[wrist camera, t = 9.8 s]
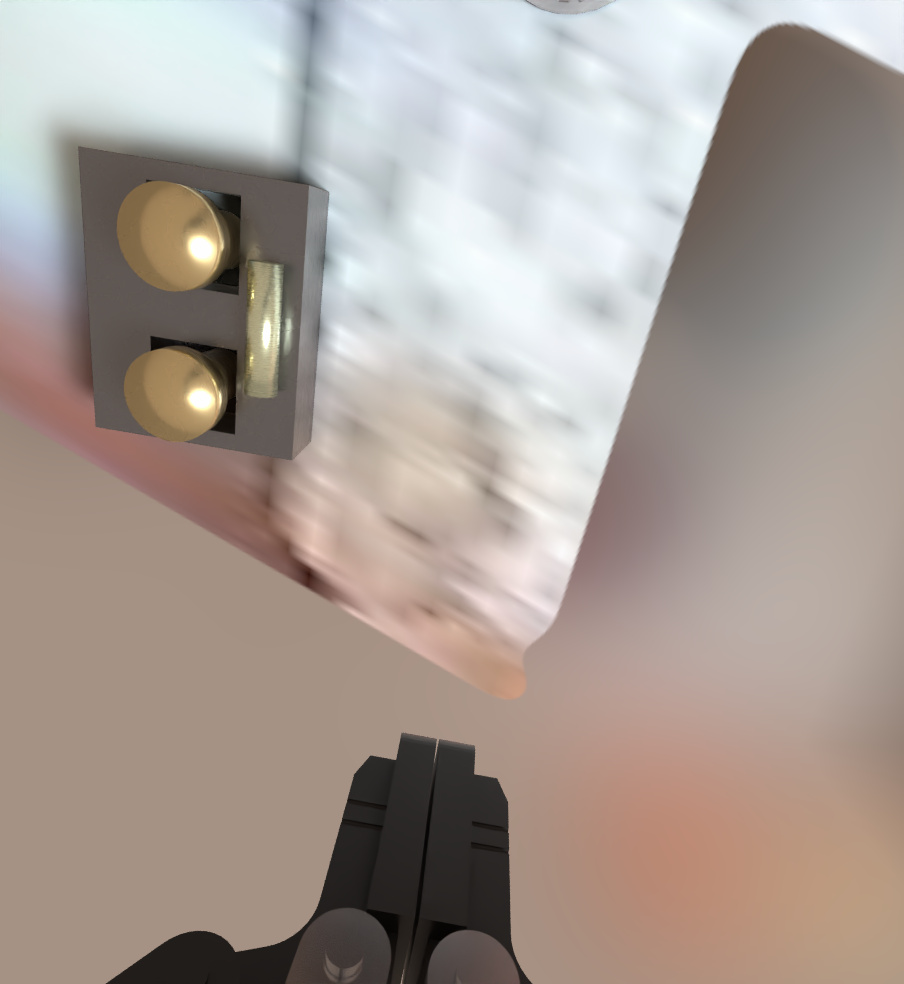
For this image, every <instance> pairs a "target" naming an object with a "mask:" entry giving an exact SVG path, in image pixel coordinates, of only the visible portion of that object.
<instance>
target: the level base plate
mask: <svg viewBox="0 0 904 984" xmlns="http://www.w3.org/2000/svg"><path fill="white" fill-rule="evenodd" d="M78 149H79V165H80V181H81V197H82V213H83V230H84V246H85V262H86V278H87V294H88V310H89V326H90V342H91V358H92V374H93V390H94V406H95V422H96V427H100V428H106V429H112V430H117V431H123V432H129V433H135V434H141V435H147V436H153V437H156V436H154V435H152V434H151V433H149V432H148V431H146V430H145V429H144V428H143V427H142V426H141V425H140V424H139V423H138V422H137V421H136V420H135V418H134V417H133V415H132V414H131V412H130V410H129V408H128V406H127V403H126V400H125V395H124V380H125V376H126V373H127V371H128V368H129V367H130V365H131V364H132V363H133V362H134V360H135V359H137V358H138V357H139V356H141V355H143V354H144V353H147V352H150V351H153V350H157V349H160V348H164V347H168V346H184V341H185V342H191V343H196V344H202V345H208V346H214V347H220V348H226V349H232V350H237V381H236V414H234V413H228V412H225V413H224V415H223V417H222V418H221V420H220V421H219V422H218V423H217V424H216V425H215V426H214V427H213V428H211V429H210V430H208V431H206V432H205V433H203V434H201V435H200V436H198V437H196V438H194V439H192V440H189V441H184V442H188V443H194V444H199V445H205V446H211V447H217V448H223V449H229V450H235V451H241V452H246V453H252V454H258V455H264V456H270V457H276V458H282V459H287V460H293V459H294V458H295V457H296V456H297V455H298V454H299V453H300V452H301V451H302V450H303V449H304V448H305V447H306V446H307V445H308V444H309V443H310V442H311V433H312V419H313V406H314V392H315V378H316V365H317V351H318V337H319V324H320V310H321V296H322V283H323V269H324V255H325V242H326V228H327V214H328V201H329V192H327V191H324V190H321V189H319V188H316V187H313V186H310V185H305V184H299V183H293V182H287V181H281V180H275V179H269V178H263V177H257V176H251V175H245V174H239V173H233V172H228V171H222V170H216V169H210V168H204V167H198V166H192V165H186V164H180V163H174V162H168V161H162V160H156V159H150V158H144V157H138V156H132V155H126V154H120V153H114V152H108V151H102V150H96V149H90V148H84V147H78ZM151 181H166V182H171V183H175V184H180V185H185V186H189V187H191V188H194V189H198V190H204V191H210V192H216V193H222V194H228V195H234V196H240V197H241V223H240V262H239V287H237V286H231V285H225V284H219V283H212V284H210V285H208V286H206V287H203V288H200V289H195V290H187V291H176V292H173V291H166V290H162V289H159V288H156V287H154V286H152V285H150V284H148V283H147V282H146V281H144V280H143V279H142V278H140V277H139V276H138V275H137V274H136V273H135V272H134V271H133V270H132V268H131V267H130V266H129V264H128V263H127V261H126V259H125V258H124V255H123V253H122V251H121V248H120V245H119V242H118V237H117V217H118V213H119V209H120V207H121V205H122V202H123V201H124V199H125V198H126V196H127V195H128V194H129V193H130V192H131V191H132V190H133V189H135V188H136V187H138V186H139V185H141V184H144V183H147V182H151Z"/></svg>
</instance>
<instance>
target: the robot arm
mask: <svg viewBox="0 0 904 984" xmlns="http://www.w3.org/2000/svg"><path fill="white" fill-rule="evenodd" d="M527 1H528V2H530V3H532V4H533V5H535V6H537V7H538V8H541V9H544V10H547V11H551V12H554V13H557V14H580V13H584V12H589V11H594V10H597V9H599V8H601V7H603V6H605V5H607V4H609V3H612V2H614V1H615V0H527ZM436 741H437V739H434V738H429V737H424V736H418V735H413V734H407V733H402V734H401V739H400V744H399V749H398V754H397V759H396V760H391V759H387V758H381V757H376V756H370V757H369V758H368V759H367V760H366V762H365V763H364V764H363V765H362V766H361V767H360V768H359V770H358V771H357V772H356V773H355V774H354V777H353V781H352V785H351V789H350V792H349V796H348V800H347V804H346V807H345V810H344V814H343V818H342V822H341V825H340V829H339V832H338V836H337V839H336V843H335V847H334V850H333V854H332V858H331V861H330V865H329V869H328V872H327V876H326V880H325V883H324V887H323V891H322V894H321V898H320V901H319V904H318V907H317V909H316V911H315V913H314V914H313V916H312V917H311V919H310V920H309V922H308V923H307V924H306V925H305V926H304V927H303V928H302V929H301V930H300V931H299V932H297V933H296V934H295V935H293V936H292V937H290V938H288V939H287V940H285V941H282V942H280V943H278V944H275V945H271V946H267V947H262V948H257V949H251V950H245V951H239V952H235V951H234V949H233V947H232V946H231V945H230V944H229V943H228V941H226V940H225V939H224V938H222V937H221V936H219V935H217V934H215V933H211V932H207V931H193V932H187V933H184V934H180V935H178V936H176V937H173V938H171V939H169V940H168V941H166V942H164V943H163V944H161V945H160V946H159V947H157V948H156V949H154V950H153V951H151V952H150V953H149V954H147V955H146V956H144V957H143V958H142V959H140V960H139V961H137V962H136V963H134V964H133V965H132V966H130V967H129V968H128V969H126V970H125V971H123V972H122V973H121V974H119V975H117V976H116V977H115V978H113V979H112V980H110V981H109V982H108V983H106V984H400V983H401V978H402V974H403V980H402V984H532V983H531V982H530V981H529V979H528V978H527V977H526V975H525V974H524V972H523V971H522V969H521V968H520V966H519V964H518V962H517V960H516V957H515V955H514V951H513V947H512V943H511V924H510V878H509V877H510V876H509V854H508V851H509V833H508V801H507V799H506V797H505V795H504V793H503V790H502V788H501V786H500V784H499V782H498V779H497V778H491V777H486V776H481V775H475V774H474V764H475V746H474V745H468V744H463V743H457V742H452V741H446V740H441V739H440V740H439V743H438V747H437V753H436V758H435V750H436ZM434 758H435V762H434ZM433 766H434V767H433ZM403 970H404V973H403Z"/></svg>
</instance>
